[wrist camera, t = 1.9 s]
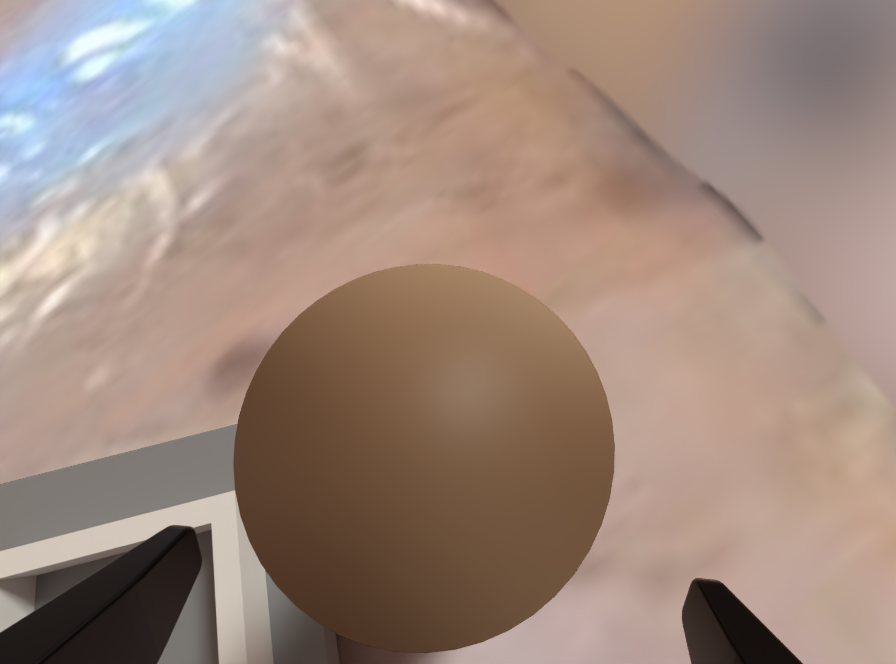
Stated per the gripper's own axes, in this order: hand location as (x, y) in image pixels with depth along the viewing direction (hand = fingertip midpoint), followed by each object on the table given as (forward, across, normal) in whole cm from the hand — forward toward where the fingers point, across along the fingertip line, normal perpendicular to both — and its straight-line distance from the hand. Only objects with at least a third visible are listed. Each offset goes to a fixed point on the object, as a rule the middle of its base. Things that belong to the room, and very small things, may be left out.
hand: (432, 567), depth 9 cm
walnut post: (+8, 0, +5) cm, 9 cm away
